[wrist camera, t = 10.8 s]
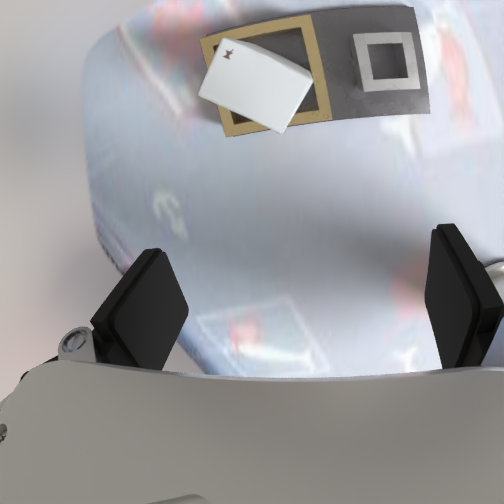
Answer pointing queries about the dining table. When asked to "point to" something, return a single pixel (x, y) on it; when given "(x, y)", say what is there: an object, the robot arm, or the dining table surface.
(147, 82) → the dining table surface
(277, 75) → the skincare box
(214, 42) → the plate
